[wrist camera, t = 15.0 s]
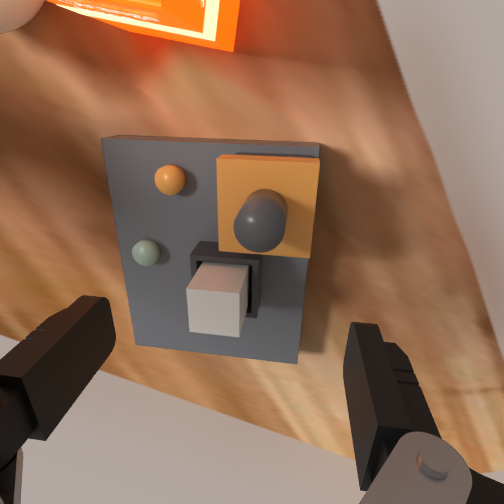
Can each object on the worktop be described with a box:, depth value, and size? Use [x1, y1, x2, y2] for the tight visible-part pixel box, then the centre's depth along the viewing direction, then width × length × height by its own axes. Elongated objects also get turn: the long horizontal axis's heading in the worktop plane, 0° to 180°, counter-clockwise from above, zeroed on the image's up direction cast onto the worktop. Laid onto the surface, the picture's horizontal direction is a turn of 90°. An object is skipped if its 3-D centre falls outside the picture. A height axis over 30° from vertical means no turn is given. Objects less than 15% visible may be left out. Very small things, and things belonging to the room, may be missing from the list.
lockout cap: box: [216, 154, 320, 258], centre depth 21 cm, size 7×7×5 cm
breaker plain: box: [186, 261, 249, 337], centre depth 27 cm, size 4×4×4 cm
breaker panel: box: [101, 135, 320, 364], centre depth 31 cm, size 18×22×6 cm
